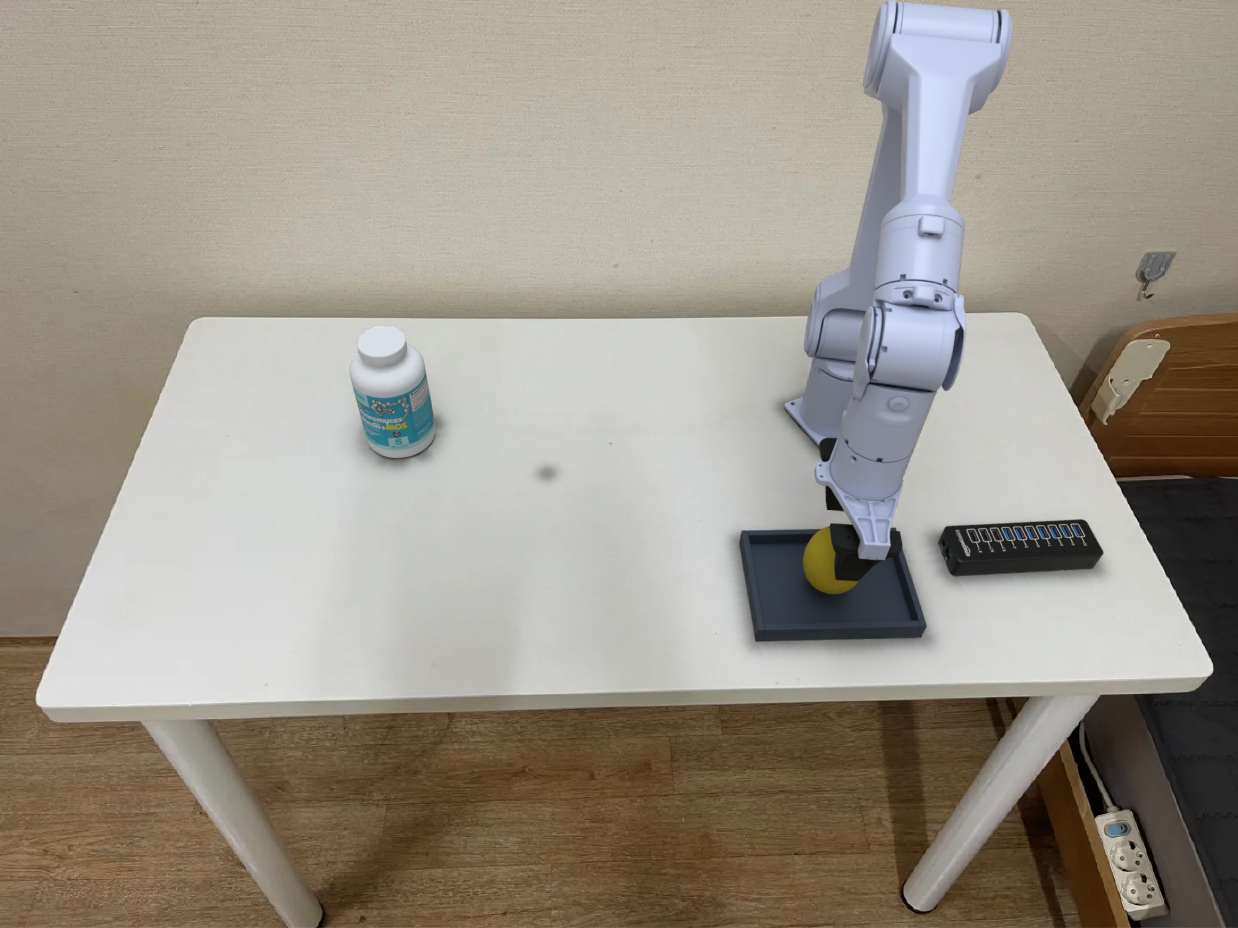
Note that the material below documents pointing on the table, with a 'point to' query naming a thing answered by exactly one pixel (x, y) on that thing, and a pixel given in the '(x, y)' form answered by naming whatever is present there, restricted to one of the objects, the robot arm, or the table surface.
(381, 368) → the pill bottle
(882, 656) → the table surface
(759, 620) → the tray
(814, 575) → the lemon
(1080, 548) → the multiport hub
